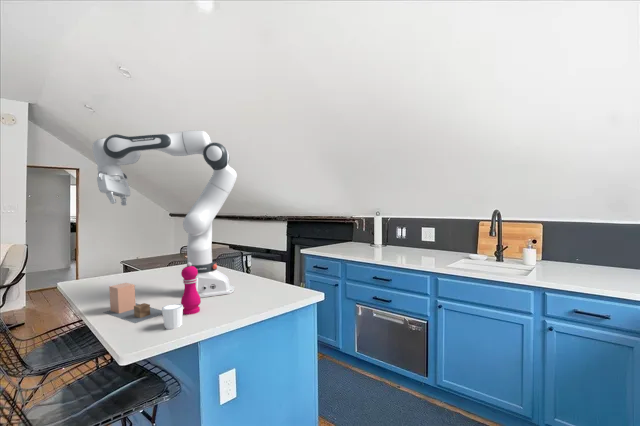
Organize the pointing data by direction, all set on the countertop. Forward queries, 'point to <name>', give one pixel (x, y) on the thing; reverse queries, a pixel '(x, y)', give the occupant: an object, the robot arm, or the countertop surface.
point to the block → (142, 310)
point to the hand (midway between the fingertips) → (119, 204)
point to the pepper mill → (190, 290)
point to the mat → (130, 316)
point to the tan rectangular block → (122, 297)
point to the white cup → (172, 315)
